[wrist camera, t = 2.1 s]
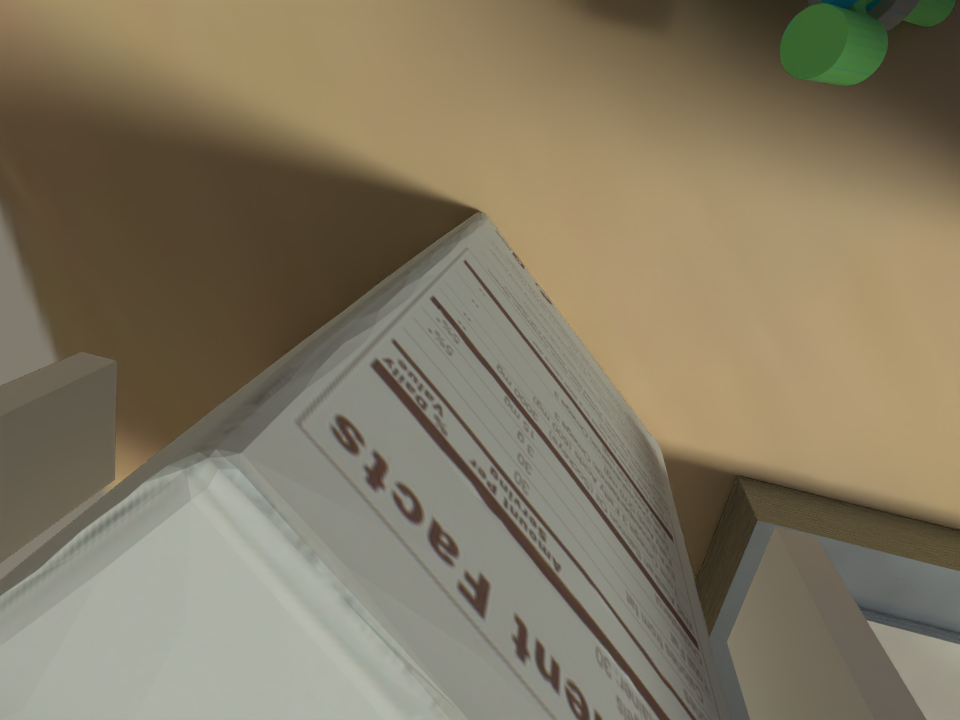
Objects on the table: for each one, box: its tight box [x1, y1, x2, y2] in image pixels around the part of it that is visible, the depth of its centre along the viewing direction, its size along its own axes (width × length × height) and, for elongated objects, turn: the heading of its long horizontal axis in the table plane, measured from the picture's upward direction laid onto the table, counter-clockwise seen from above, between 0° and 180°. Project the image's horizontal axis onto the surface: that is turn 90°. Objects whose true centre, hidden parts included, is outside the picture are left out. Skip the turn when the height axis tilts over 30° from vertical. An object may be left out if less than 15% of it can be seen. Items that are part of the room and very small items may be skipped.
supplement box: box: [0, 212, 731, 720], centre depth 11 cm, size 7×7×13 cm
